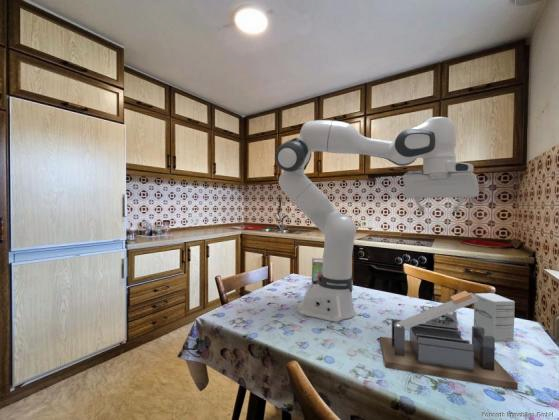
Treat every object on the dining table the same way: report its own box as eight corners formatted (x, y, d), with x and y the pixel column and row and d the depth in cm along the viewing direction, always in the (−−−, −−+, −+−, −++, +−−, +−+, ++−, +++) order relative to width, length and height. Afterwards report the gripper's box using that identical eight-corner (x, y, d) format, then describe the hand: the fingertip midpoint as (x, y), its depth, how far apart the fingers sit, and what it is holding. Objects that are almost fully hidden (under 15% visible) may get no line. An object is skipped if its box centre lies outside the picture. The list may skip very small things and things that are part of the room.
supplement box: (472, 330, 84) (473, 293, 84) (492, 329, 85) (493, 292, 85) (493, 341, 77) (493, 301, 77) (515, 341, 78) (515, 300, 77)
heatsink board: (385, 367, 64) (385, 330, 64) (379, 341, 77) (380, 310, 77) (517, 389, 57) (518, 348, 57) (487, 356, 69) (487, 322, 69)
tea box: (313, 291, 121) (313, 261, 121) (311, 285, 132) (311, 257, 131) (344, 292, 121) (344, 262, 121) (340, 286, 131) (340, 258, 131)
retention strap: (397, 333, 68) (392, 325, 68) (395, 328, 71) (391, 320, 71) (480, 301, 63) (474, 292, 63) (474, 297, 66) (469, 289, 66)
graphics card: (420, 304, 99) (457, 310, 92) (420, 313, 99) (457, 320, 92) (415, 320, 85) (458, 329, 78) (416, 331, 85) (459, 341, 78)
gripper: (401, 170, 83) (401, 211, 83) (479, 164, 72) (479, 212, 72) (404, 172, 88) (404, 211, 89) (478, 167, 77) (477, 212, 77)
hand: (438, 211), depth 80 cm, fingers open, 8 cm apart
